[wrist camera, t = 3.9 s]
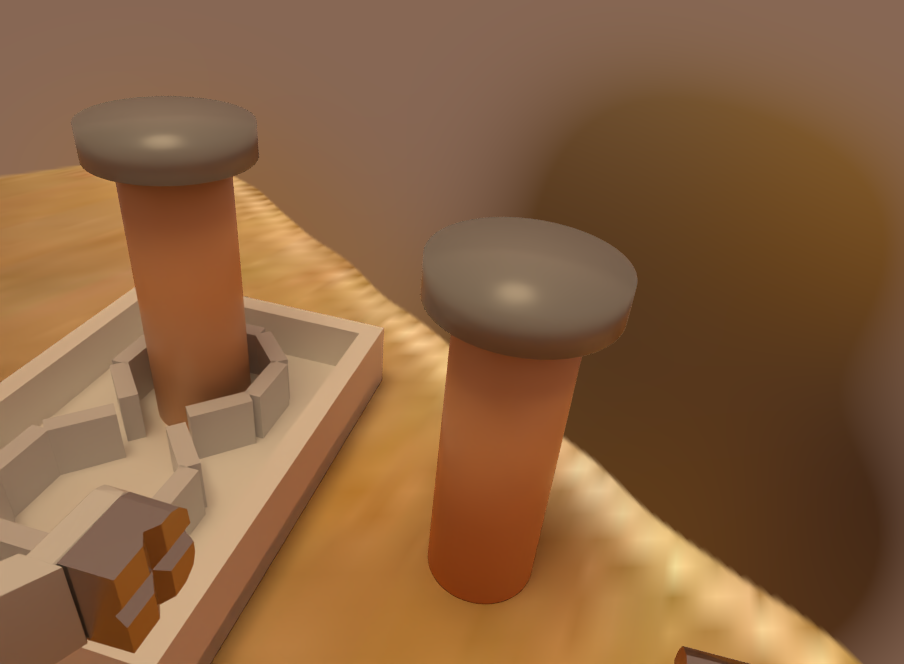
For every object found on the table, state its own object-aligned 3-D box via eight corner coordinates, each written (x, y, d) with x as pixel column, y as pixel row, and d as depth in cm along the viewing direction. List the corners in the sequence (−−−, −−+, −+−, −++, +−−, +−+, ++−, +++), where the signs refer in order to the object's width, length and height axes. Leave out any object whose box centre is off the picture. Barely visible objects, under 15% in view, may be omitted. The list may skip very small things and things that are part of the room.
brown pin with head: (378, 522, 30) (391, 227, 22) (510, 483, 33) (561, 209, 25) (441, 653, 25) (484, 334, 17) (589, 596, 28) (683, 297, 20)
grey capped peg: (128, 377, 35) (70, 98, 27) (259, 354, 38) (239, 94, 30) (139, 463, 30) (71, 153, 23) (288, 430, 33) (273, 142, 25)
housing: (168, 733, 22) (152, 670, 20) (-184, 610, 24) (-228, 544, 22) (381, 380, 38) (384, 327, 36) (159, 327, 41) (150, 275, 39)
